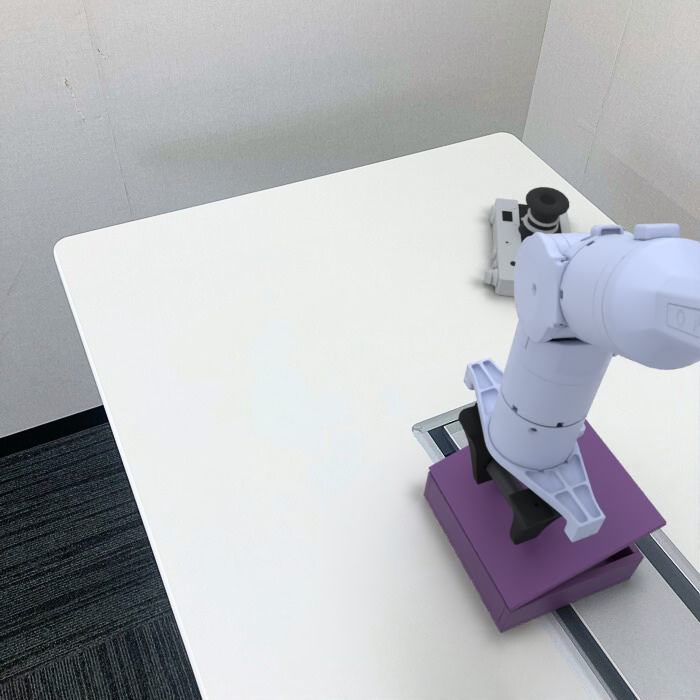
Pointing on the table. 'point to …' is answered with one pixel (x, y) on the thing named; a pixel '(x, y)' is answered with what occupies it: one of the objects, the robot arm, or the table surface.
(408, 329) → the table surface
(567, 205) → the camera
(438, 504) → the purple box
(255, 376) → the table surface
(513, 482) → the box cover
